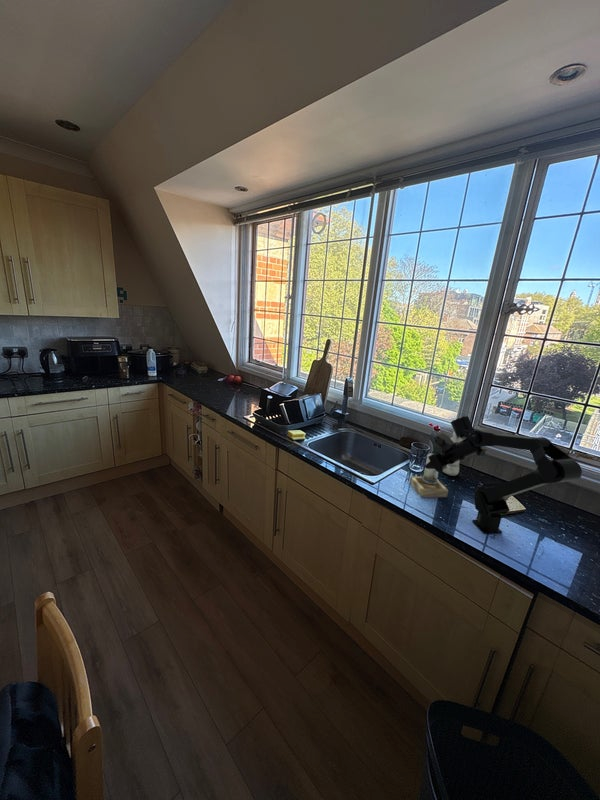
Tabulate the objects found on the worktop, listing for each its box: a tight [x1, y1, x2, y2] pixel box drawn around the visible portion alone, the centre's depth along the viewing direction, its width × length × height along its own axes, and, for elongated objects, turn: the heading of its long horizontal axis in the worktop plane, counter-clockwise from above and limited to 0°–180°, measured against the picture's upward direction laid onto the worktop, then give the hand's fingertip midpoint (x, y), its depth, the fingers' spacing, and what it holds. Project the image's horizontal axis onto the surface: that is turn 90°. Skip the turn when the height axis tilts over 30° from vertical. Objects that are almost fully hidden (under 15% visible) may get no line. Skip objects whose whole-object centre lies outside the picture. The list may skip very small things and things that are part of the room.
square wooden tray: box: [409, 476, 449, 498], centre depth 128 cm, size 10×10×3 cm
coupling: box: [421, 453, 439, 486], centre depth 126 cm, size 7×6×11 cm
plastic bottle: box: [442, 431, 464, 477], centre depth 140 cm, size 6×7×20 cm
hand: (429, 465), depth 126 cm, fingers closed on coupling, 5 cm apart
